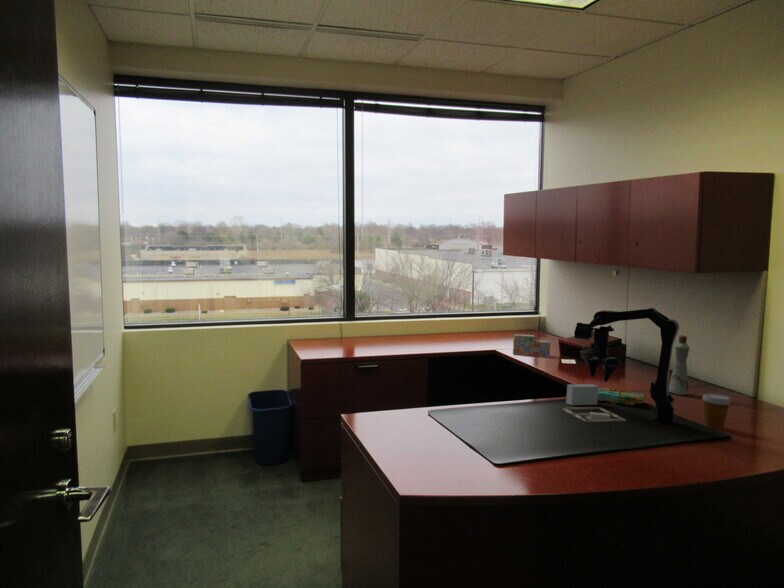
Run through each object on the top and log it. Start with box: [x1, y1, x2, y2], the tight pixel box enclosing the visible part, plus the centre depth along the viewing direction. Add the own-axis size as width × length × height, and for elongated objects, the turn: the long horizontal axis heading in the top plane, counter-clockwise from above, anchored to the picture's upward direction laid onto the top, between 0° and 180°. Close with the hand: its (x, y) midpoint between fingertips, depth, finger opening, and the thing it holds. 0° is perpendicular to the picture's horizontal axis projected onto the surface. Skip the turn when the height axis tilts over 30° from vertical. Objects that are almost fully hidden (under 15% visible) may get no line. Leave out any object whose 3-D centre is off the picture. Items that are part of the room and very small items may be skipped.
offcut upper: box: [589, 411, 611, 420], centre depth 222 cm, size 3×7×2 cm, turn 79°
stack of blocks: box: [512, 333, 551, 357], centre depth 355 cm, size 21×6×12 cm, turn 83°
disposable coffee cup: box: [701, 392, 731, 431], centre depth 222 cm, size 10×10×12 cm
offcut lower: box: [584, 416, 613, 420], centre depth 222 cm, size 4×10×2 cm, turn 92°
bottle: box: [669, 334, 690, 396], centre depth 274 cm, size 9×9×28 cm
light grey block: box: [565, 383, 600, 406], centre depth 242 cm, size 4×12×9 cm, turn 104°
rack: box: [561, 406, 627, 423], centre depth 226 cm, size 17×17×2 cm
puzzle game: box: [598, 386, 645, 406], centre depth 254 cm, size 12×5×20 cm
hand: (598, 379), depth 239 cm, fingers open, 9 cm apart
